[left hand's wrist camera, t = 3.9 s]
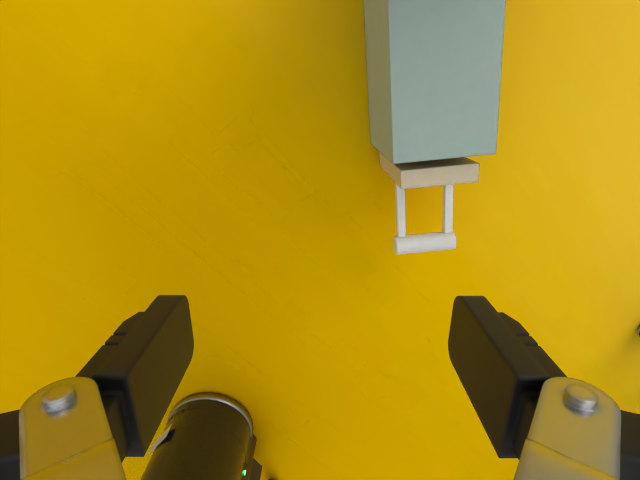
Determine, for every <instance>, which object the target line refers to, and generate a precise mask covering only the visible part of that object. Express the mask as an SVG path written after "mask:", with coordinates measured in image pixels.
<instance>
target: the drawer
mask: <svg viewBox="0 0 640 480" xmlns="http://www.w3.org/2000/svg"><path fill="white" fill-rule="evenodd" d="M380 166H381V167H382V168H383V169H384V170H385V172H386V173H387V174H388V175H389V176H390V177H391V178H392V179H393V180H394V182H395V190H396V225H397V236H395V237H394V250H395V253H396V254H408V253H419V252H430V251H441V250H452V249H455V248H456V236H455V233H454V232H453V231H452V225H453V185H454V184H462V183H472V182H478V180H479V163H477V162H475V161H472V160H470V159H468V158H465V157H459V158H449V159H439V160H428V161H418V162H408V163H398V164H393V163H392V162H391V161H390V160H389V159H388V158H386V157H385V156H384V155H383V154H382V153H381V152H380ZM441 185H443V226H442V231H443V232H435V233H424V234H413V235H406V219H405V189H410V188H420V187H431V186H441Z"/></svg>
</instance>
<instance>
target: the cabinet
mask: <svg viewBox="0 0 640 480" xmlns="http://www.w3.org/2000/svg"><path fill="white" fill-rule="evenodd" d="M363 4H364V23H365V43H366V63H367V83H368V103H369V122H370V142H371V144H372V145H373V146H374V147H375V148H376V149H377V150H379V151H380V152H381V153H382V154H383V155H384V156H385V157H386V158H388V159H389V160H390V161H391V162H392V163H393V164H398V163H408V162H418V161H428V160H439V159H449V158H459V157H469V156H479V155H489V154H496V147H497V131H498V115H499V99H500V83H501V67H502V51H503V36H504V20H505V4H506V0H363Z"/></svg>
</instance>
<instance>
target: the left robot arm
mask: <svg viewBox="0 0 640 480" xmlns="http://www.w3.org/2000/svg"><path fill="white" fill-rule="evenodd" d="M193 348H194V340H193V332H192V325H191V318H190V310H189V303H188V299H187V297H186V296H185V295H159V296H157V297H156V299H155V300H154V301H153V302H152V303H151V305H150V306H149V307H148V308H147V310H146V311H145V312H138V313H137V314H135V315H133V316H132V317H130V318H129V319H127V320H125V321H124V322H123V323H122V324H121V325H120V326H119V327H118V329H117V330H116V331H115V332H114V334H113V336H111V337H110V338H109V339H108V340H107V341H106V342H105V345H103V346H102V347H101V348H100V349H99V350H98V351H97V353H96V354H95V355H94V356H93V357H92V358H91V359H90V361H89V362H88V363H87V364H86V365H85V366H84V367H83V369H82V370H81V371H80V372H79V373H78V374H77V375H76V377H71V378H66V379H62V380H59V381H56V382H54V383H51V384H49V385H47V386H45V387H43V388H41V389H40V390H38V391H37V392H35V393H34V394H33V395H31V396H30V397H29V398H28V399H27V400H26V401H25V402H24V404H23V405H22V407H21V409H20V410H15V411H11V412H6V413H2V414H0V480H126V477H125V473H124V470H123V467H122V462H123V460H124V458H125V457H144V455H145V453H146V451H147V449H148V447H149V445H150V443H151V441H152V439H153V437H154V435H155V433H156V431H157V429H158V427H159V425H160V423H161V421H162V418H163V416H164V414H165V412H166V410H167V408H168V406H169V404H170V402H171V400H172V398H173V396H174V394H175V392H176V390H177V388H178V386H179V384H180V382H181V380H182V378H183V376H184V374H185V372H186V370H187V368H188V366H189V363H190V361H191V359H192V355H193ZM448 350H449V356H450V360H451V362H452V364H453V366H454V368H455V370H456V372H457V374H458V376H459V378H460V380H461V382H462V384H463V386H464V388H465V390H466V392H467V394H468V396H469V398H470V400H471V403H472V405H473V407H474V409H475V411H476V413H477V415H478V417H479V419H480V421H481V423H482V425H483V427H484V429H485V431H486V433H487V435H488V437H489V439H490V441H491V443H492V445H493V447H494V449H495V451H496V453H497V455H498V457H499V458H518V459H519V463H518V467H517V470H516V473H515V477H514V480H640V414H635V413H631V412H626V411H622V410H620V409H619V407H618V405H617V404H616V402H615V401H614V400H613V399H612V398H611V397H610V396H609V395H607V394H606V393H605V392H603V391H602V390H600V389H599V388H597V387H595V386H593V385H591V384H589V383H586V382H584V381H581V380H578V379H574V378H569V377H567V376H566V375H565V374H564V373H563V372H562V371H561V369H560V368H559V367H558V366H557V365H556V364H555V363H554V362H553V360H552V359H551V358H550V357H549V356H548V355H547V354H546V353H545V351H544V350H543V349H542V348H541V347H540V346H538V343H537V342H536V341H535V340H534V339H533V338H532V337H531V336H529V333H528V332H527V331H526V330H525V329H524V328H523V327H522V325H521V324H520V323H519V322H517V321H516V320H514V319H513V318H511V317H509V316H508V315H506V314H505V313H498V312H497V311H496V310H495V309H494V307H493V306H492V305H491V304H490V303H489V301H488V300H487V299H486V298H485V297H484V296H457V297H456V298H455V300H454V304H453V311H452V318H451V325H450V332H449V340H448ZM252 432H253V423H252V420H251V417H250V415H249V413H248V412H247V410H246V409H245V408H244V407H243V406H242V405H241V404H239V403H238V402H237V401H235V400H233V399H231V398H229V397H227V396H224V395H221V394H215V393H199V394H194V395H191V396H188V397H186V398H184V399H183V400H181V401H180V402H179V403H178V404H177V405H176V406H175V407H174V409H173V410H172V412H171V414H170V417H169V419H168V422H167V424H166V427H165V429H164V432H163V434H162V435H161V436H160V437H159V438H158V439H157V440H156V441H155V442H154V443H153V445H152V447H151V449H150V452H149V454H150V453H151V452H152V451H153V450H154V449H155V450H154V452H153V455H152V457H151V459H150V461H149V463H148V465H147V467H146V469H145V472H144V474H143V476H142V478H141V480H260V476H261V470H262V466H261V465H260V464H259V463H258V462H257V461H256V460H255V459H254V458H253V455H254V450H255V445H256V438H255V437H254V435H253V434H252ZM149 454H148V455H149ZM269 480H271V479H269Z"/></svg>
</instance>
